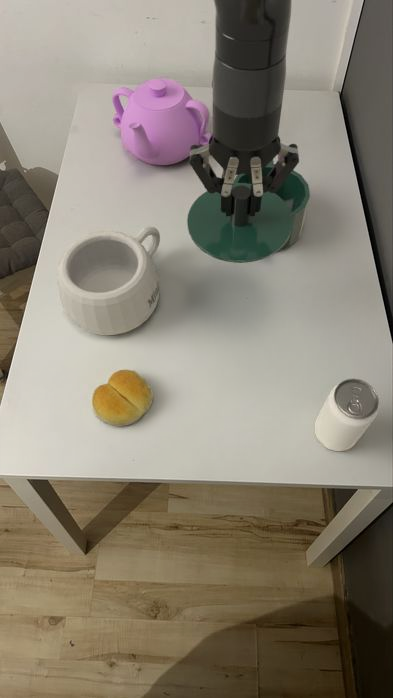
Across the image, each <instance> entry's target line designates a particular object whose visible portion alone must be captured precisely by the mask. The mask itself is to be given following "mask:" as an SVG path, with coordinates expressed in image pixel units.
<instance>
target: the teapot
mask: <svg viewBox="0 0 393 698" xmlns="http://www.w3.org/2000/svg"><path fill="white" fill-rule="evenodd" d="M120 96H123V97H125V98H127V99H128V100H127V102H126V105H125V107H123V105H122V102H121V98H120ZM111 100H112V106H113V107H114V110H115V112H116V113H115V114H114V115H113V117H112V122H113V124H114V126H115V127H116V128H118V129H120V136H121V142H122V144H123V146H124V148H125V149H126V150H127V152H128V153H130V154H131V155H132V156H133V157H135V158H136V159H138V160H140V161H142V162H144V163H146V164H149V165H155V166H168V165H174V164H178V163H180V162H182V161H183V160H186V159H187V158H188V157H190V147H191V146H192V145H198V146H199V147H200V145H201V146H204V145H207V144H209V139H210V137H211V136H212V133H211V132H209V131H207V128H208V125H209V121H210V110H209V108H208V106H207V105H206V104H205V103H203V102H202V101H200V100H197V99H193V97H192V96H191V94H190V93H189V92H188V90H186V88H185V87H184V86H183V85H182V84H181V83H179V82H178V81H175V80H173V79H169V78H152V79H148V80H146V81H144V82H142V83H140V84H139V85H138V86H137V87H135V89H134V90H133V89H131V88H129V87H125V86H121V87H118V88H116V89H115V90H114V92H113V93H112V96H111Z"/></svg>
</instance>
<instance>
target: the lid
mask: <svg viewBox="0 0 393 698" xmlns="http://www.w3.org/2000/svg"><path fill="white" fill-rule="evenodd" d="M251 185H253V184H248V183H234V184H233V185H232V204H231V216H226V213H222V211H221V195H220V194H219V193H218V192H215V193H209V192H208V191H207V190H206V191H205V192H203V193H202V194H201V195H199V196H198V197H197V198H196V199H195V200H194V202H193V203H192V204H191V206H190V209H189V210H188V214H187V219H186V224H187V231H188V234H189V237H190V238H191V241H192V242H193V243H194V245H196V247H197V248H198V249H199V250H200V251H202V252H203V253H205V254H206V255H208V256H210V257H211V258H214V259H216V260H219V261H222V262H227V263H233V264H235V263H236V264H246V263H254V262H258V261H261V260H265V259H267V258H269V257H271V256H273V255H274V254H276V253H278V252H277V251H278V250H280V249H281V248H282V247H283V246H284V244H285V243H286V242H287V240H288V238H289V236H290V233H291V230H292V216H291V213H290V210H289V208H288V206H287V205H286V203H285V202H284V201H283V200H282V199H281V198H280V197H279V196H278V195H277V194H275V193H270V192H269V191H268V192H265V193H263V195H262V199H261V208H260V211H259V212H255V216H250V215H249V212H250V201H251V190H250V189H251Z"/></svg>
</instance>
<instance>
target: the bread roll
mask: <svg viewBox="0 0 393 698" xmlns="http://www.w3.org/2000/svg"><path fill="white" fill-rule="evenodd" d="M91 400H92V401H91V402H92V407H93V411H94V413H95V415H96V417H97V418H98V419H99V420H100V421H102V422H103V423H105V424H108V425H110V426H115V427H124V426H129V425H131V424H133V423H135V422H137V421H139V420H140V419H141V418H142V416H144V414H145V413H147V412H148V410H149V409H150V407H151V405H152V403H153V400H154V394H153V390H152V388H151V387H150V386H149V384H148V382H147V381H146V380H145V379H144V378H143V377H142V376H141V375H140V374H139V373H138V372H137V371H136V370H131V369H120V370H117V371H115V372H114V373H112V374H111V376H110V377H109V378H108V381H107V383H104V384H103V383H102V384H100V385H99V386H97V387H96V388H95V390H94V392H93V394H92V399H91Z"/></svg>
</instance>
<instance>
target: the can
mask: <svg viewBox="0 0 393 698" xmlns="http://www.w3.org/2000/svg"><path fill="white" fill-rule="evenodd" d="M379 402H380V400H379V396H378V393H377V391H376V390H375V388H374V387H373V386H372V385H371V384H370V383H368V382H367V381H365V380H363V379H359V378H347V379H343V380H342V381H340V382H339V383H337V384H336V385H335V386H333V388H332V389H331V390H330V392H329V394H328V395H327V397H326V399H325V400H324V403H323V405H322V407H321V408H320V412H319V413H318V415H317V417H316V420H315V423H314V433H315V436H316V438H317V440H318V441H319V443H320V444H321V445H322V446H324V448H326V449H327V450H328V449H329V450H331V451H334V452H335V451H336V452H344V451H348V450H350V449H351V448H353V447H354V446H355V445H356V444H357V443H358V441H359V440H360V439H361V438H362V436H363V435H364V433H365V432H366V431H367V429H368V428H369V427H370V426H371V424H372V423H373V422H374V420H375V419H376V417H377V415H378V412H379V405H380V403H379Z"/></svg>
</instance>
